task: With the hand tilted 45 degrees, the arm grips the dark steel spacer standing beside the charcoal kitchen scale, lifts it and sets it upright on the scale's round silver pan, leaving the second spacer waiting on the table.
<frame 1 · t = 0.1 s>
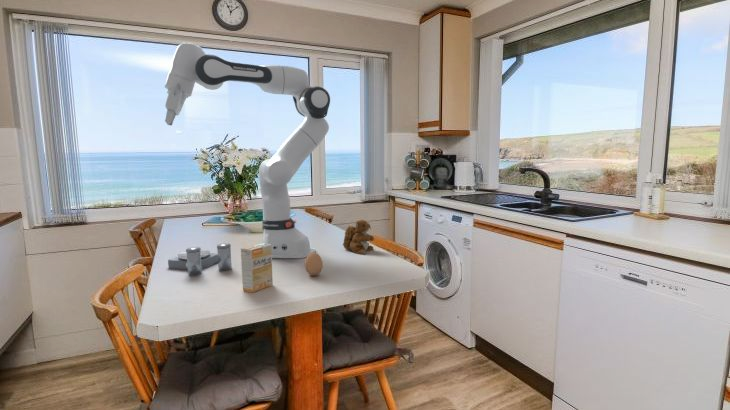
hand: (168, 124, 138), 52 cm above the table, tool tilted 20°, fingers open, 8 cm apart
spacer a: (195, 273, 132), on the table
supplement box: (258, 288, 117), on the table
stuffed squirrel: (357, 250, 162), on the table
spacer b: (225, 269, 137), on the table
pan: (194, 254, 143), point 4 cm above the table, slide at 0.0 cm, touching scale
egg: (314, 276, 128), on the table
scale: (195, 264, 143), on the table
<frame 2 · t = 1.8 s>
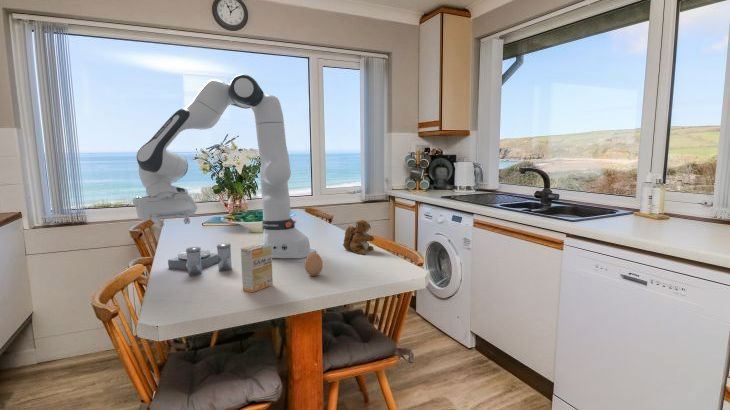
hand: (174, 224, 138), 16 cm above the table, tool tilted 45°, fingers open, 8 cm apart
nothing on the table moved.
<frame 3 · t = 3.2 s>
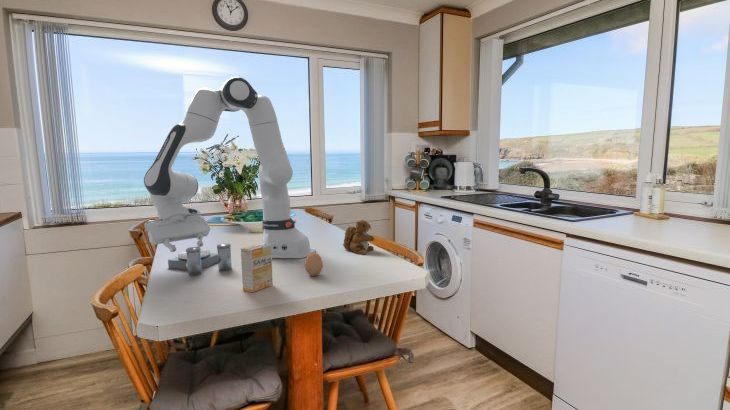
hand: (187, 248, 133), 8 cm above the table, tool tilted 45°, fingers open, 8 cm apart
nothing on the table moved.
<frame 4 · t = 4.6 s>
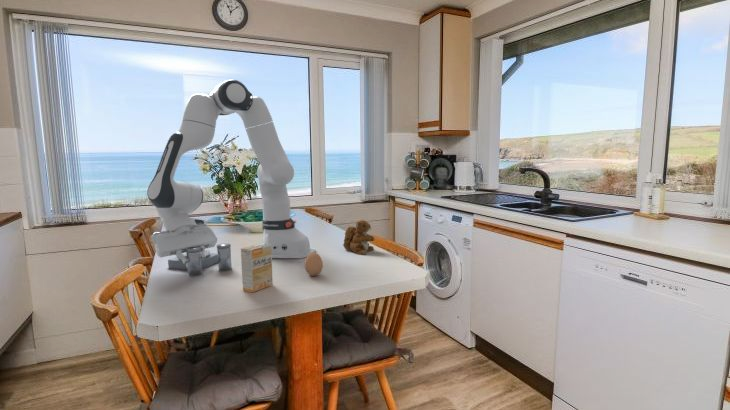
hand: (195, 260, 131), 5 cm above the table, tool tilted 45°, fingers closed on spacer a, 4 cm apart
spacer a: (195, 273, 132), on the table, touching gripper
everything else where it was.
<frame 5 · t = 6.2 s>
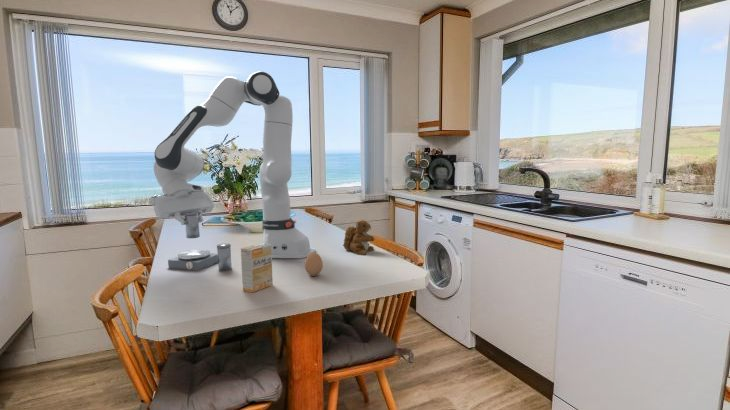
hand: (193, 222, 136), 17 cm above the table, tool tilted 45°, fingers closed on spacer a, 4 cm apart
spacer a: (193, 237, 137), point 11 cm above the table, touching gripper
everything else where it was.
when the fingers open (10 cm above the table, at t = 8.0 s): spacer a stays where it is, resting on pan.
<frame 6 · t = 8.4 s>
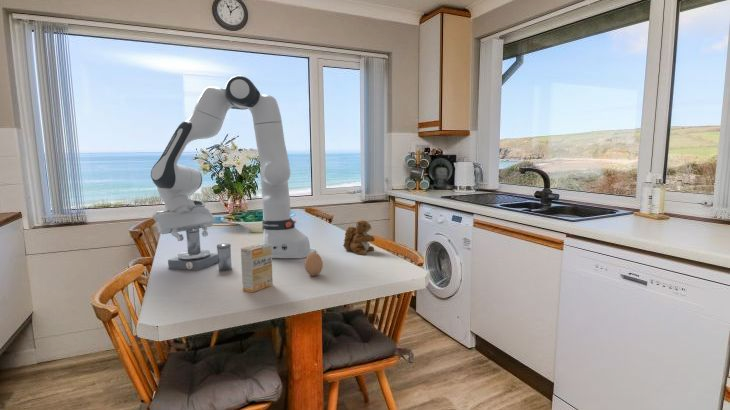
hand: (193, 237, 141), 10 cm above the table, tool tilted 45°, fingers open, 8 cm apart
spacer a: (194, 253, 143), point 4 cm above the table, touching pan
pan: (194, 254, 143), point 4 cm above the table, slide at 0.0 cm, touching scale, spacer a
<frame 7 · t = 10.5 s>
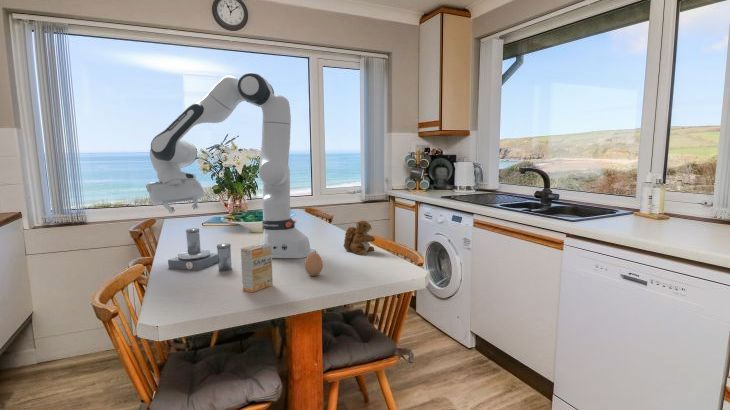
hand: (184, 210, 150), 19 cm above the table, tool tilted 35°, fingers open, 8 cm apart
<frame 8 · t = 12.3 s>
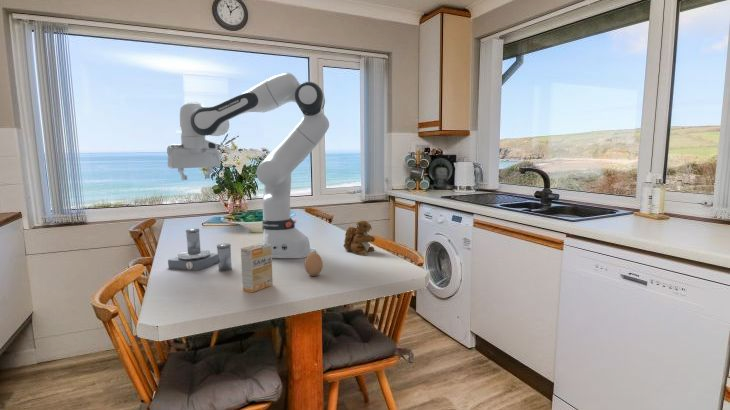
hand: (196, 179, 154), 31 cm above the table, tool pointing down, fingers open, 8 cm apart
at the end: spacer a inside the target area on the scale (0.1 cm from its centre), point 4.4 cm above the scale's base; spacer a tilted 0°; the gripper is holding nothing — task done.
